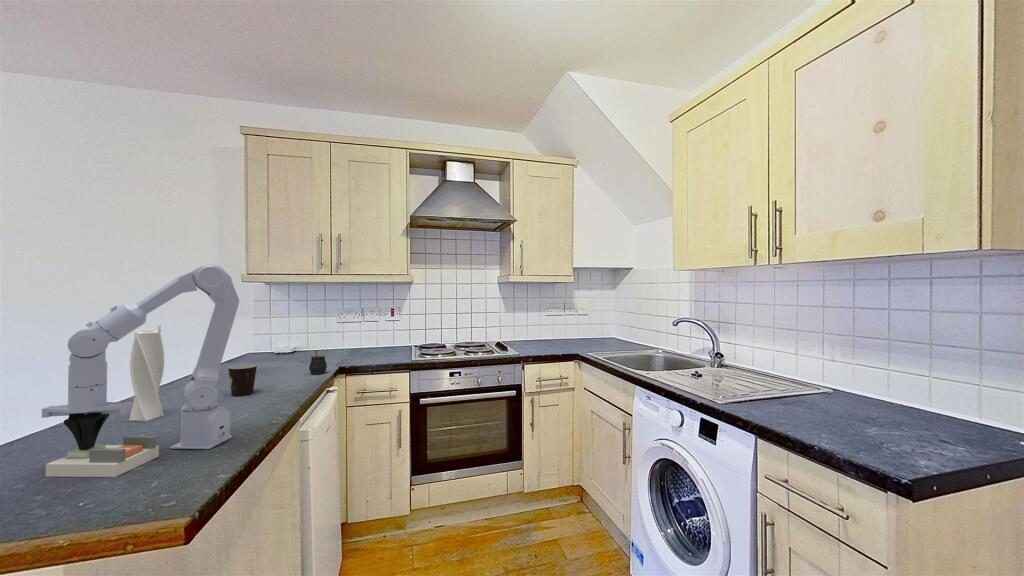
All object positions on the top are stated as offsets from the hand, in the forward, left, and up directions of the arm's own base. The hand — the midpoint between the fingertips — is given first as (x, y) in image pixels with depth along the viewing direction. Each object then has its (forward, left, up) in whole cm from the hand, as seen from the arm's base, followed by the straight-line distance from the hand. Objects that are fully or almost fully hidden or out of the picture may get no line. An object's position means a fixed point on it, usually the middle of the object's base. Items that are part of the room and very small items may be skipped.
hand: (86, 448), depth 86 cm
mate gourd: (-3, -96, -4) cm, 96 cm away
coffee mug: (+6, -58, -4) cm, 58 cm away
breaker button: (-8, 0, -3) cm, 9 cm away
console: (-4, 0, -4) cm, 5 cm away
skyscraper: (+16, -32, -4) cm, 36 cm away
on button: (0, 0, -3) cm, 3 cm away
